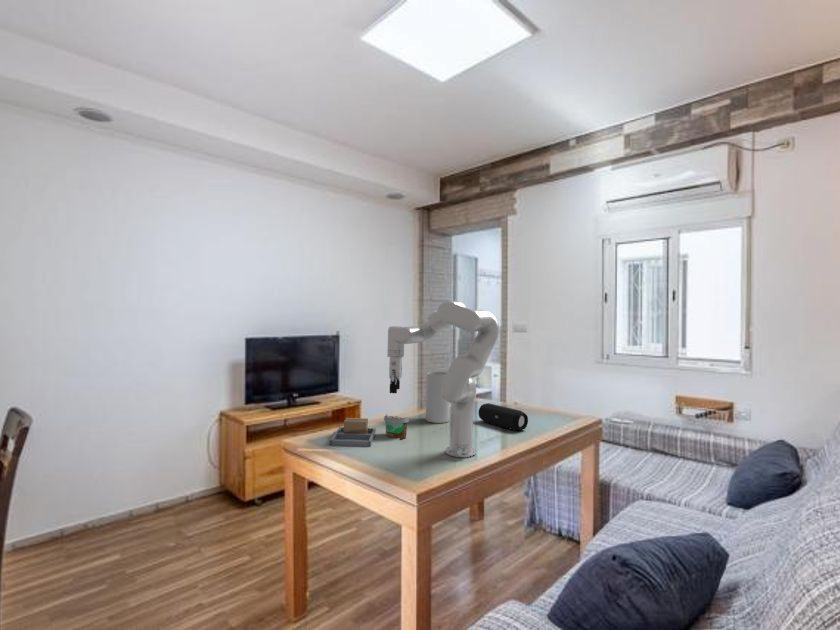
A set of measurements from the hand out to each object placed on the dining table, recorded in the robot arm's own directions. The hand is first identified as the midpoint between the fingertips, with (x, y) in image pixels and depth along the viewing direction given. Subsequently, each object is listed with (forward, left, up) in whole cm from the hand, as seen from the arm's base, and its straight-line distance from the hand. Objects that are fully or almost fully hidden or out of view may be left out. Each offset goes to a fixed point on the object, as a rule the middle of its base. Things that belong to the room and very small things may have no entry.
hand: (394, 391), depth 206 cm
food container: (-2, 0, -21) cm, 21 cm away
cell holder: (-7, +17, -21) cm, 28 cm away
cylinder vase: (+33, -21, -21) cm, 45 cm away
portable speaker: (+26, -54, -22) cm, 64 cm away
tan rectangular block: (-2, +17, -20) cm, 26 cm away
